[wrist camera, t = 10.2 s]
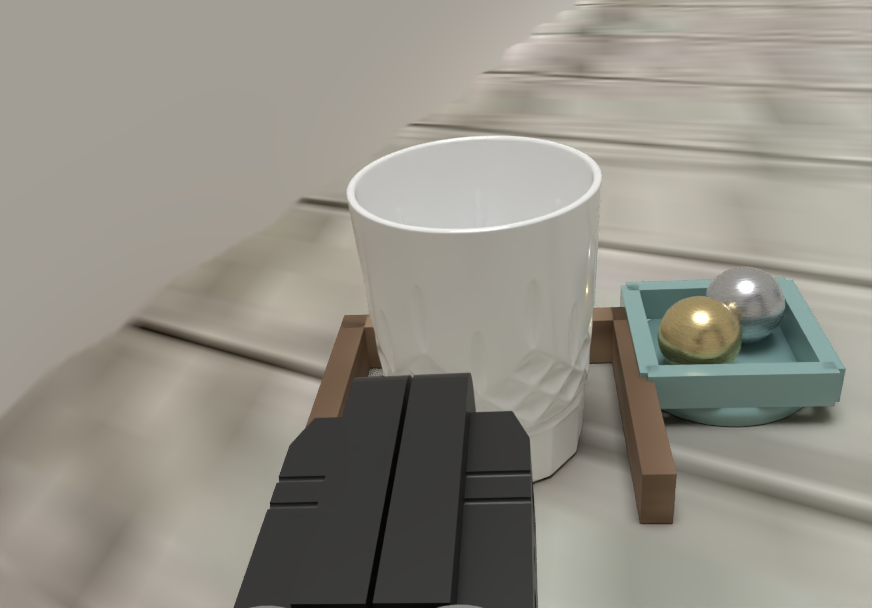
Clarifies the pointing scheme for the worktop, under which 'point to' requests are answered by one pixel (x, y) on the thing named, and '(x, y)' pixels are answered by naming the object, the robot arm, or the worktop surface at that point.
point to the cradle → (607, 345)
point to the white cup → (486, 274)
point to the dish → (736, 362)
